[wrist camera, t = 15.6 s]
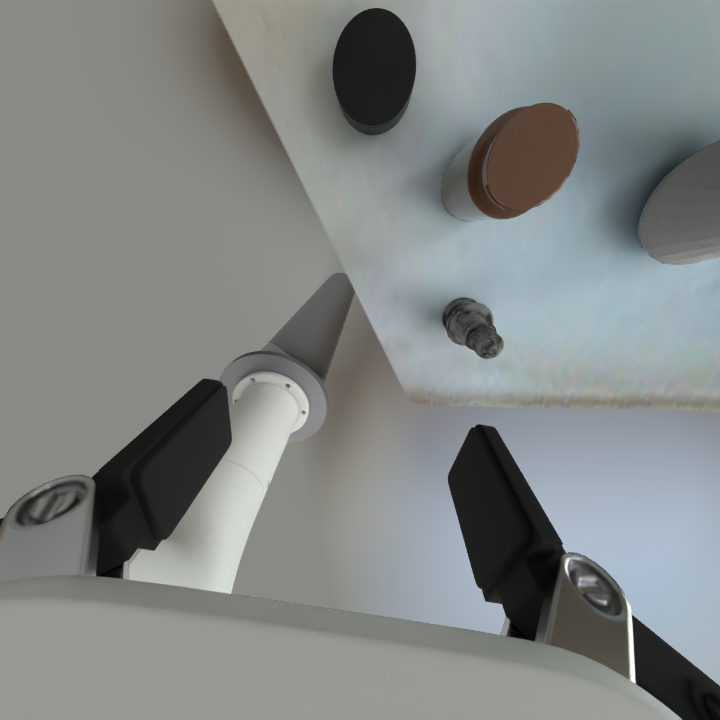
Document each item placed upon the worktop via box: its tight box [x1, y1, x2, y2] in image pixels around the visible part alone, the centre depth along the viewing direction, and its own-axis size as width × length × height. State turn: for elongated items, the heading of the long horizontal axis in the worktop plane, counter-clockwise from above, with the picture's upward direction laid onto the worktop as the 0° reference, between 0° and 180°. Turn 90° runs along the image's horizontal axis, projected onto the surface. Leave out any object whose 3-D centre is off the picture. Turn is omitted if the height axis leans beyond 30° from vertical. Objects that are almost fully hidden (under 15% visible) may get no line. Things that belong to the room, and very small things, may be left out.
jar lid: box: [333, 8, 416, 135], centre depth 24 cm, size 8×8×3 cm
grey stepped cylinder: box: [443, 298, 504, 359], centre depth 31 cm, size 6×6×12 cm
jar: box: [441, 103, 579, 221], centre depth 23 cm, size 7×7×12 cm
